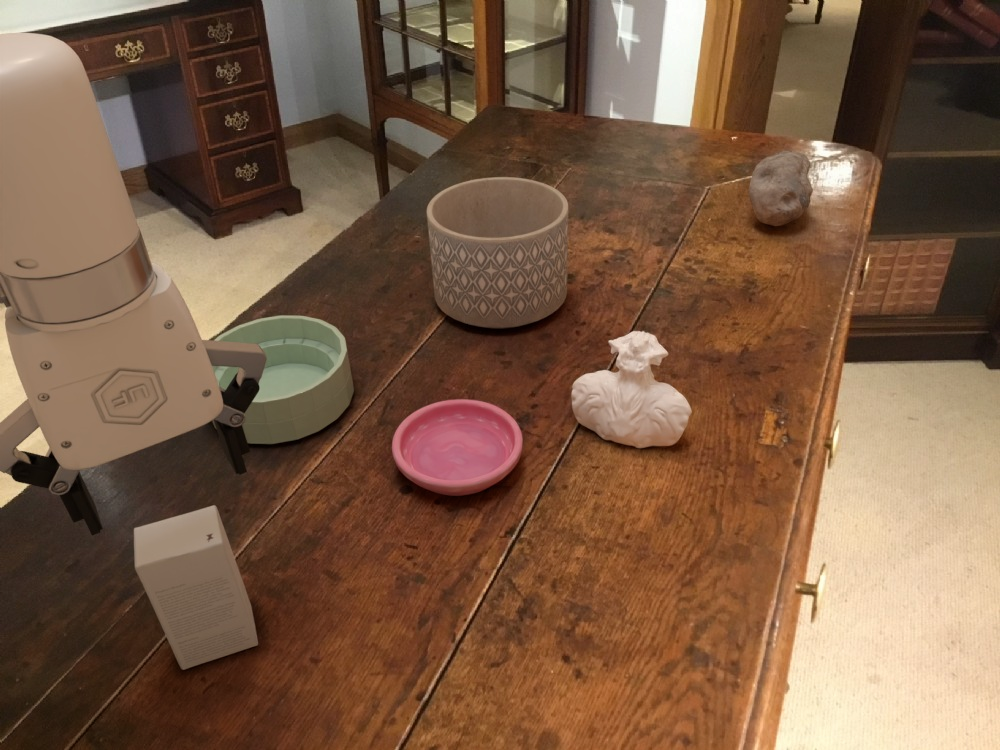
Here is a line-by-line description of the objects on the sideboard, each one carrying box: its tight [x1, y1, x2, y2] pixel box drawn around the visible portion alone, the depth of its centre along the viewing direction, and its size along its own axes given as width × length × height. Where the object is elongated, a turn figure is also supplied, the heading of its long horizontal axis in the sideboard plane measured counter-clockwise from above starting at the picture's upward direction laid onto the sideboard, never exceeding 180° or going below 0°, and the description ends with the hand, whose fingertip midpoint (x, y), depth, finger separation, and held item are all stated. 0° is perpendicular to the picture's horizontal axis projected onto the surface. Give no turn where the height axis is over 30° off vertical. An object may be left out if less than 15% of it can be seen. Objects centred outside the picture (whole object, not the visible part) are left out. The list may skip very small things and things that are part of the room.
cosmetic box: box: [133, 504, 259, 671], centre depth 64 cm, size 6×4×12 cm
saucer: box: [391, 398, 524, 497], centre depth 82 cm, size 12×12×3 cm
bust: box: [570, 330, 693, 449], centre depth 84 cm, size 12×8×11 cm
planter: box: [426, 176, 569, 330], centre depth 102 cm, size 16×16×13 cm
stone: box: [747, 150, 814, 227], centre depth 119 cm, size 9×14×10 cm, turn 150°
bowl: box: [211, 314, 355, 445], centre depth 90 cm, size 15×15×6 cm
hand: (167, 490), depth 58 cm, fingers open, 9 cm apart
